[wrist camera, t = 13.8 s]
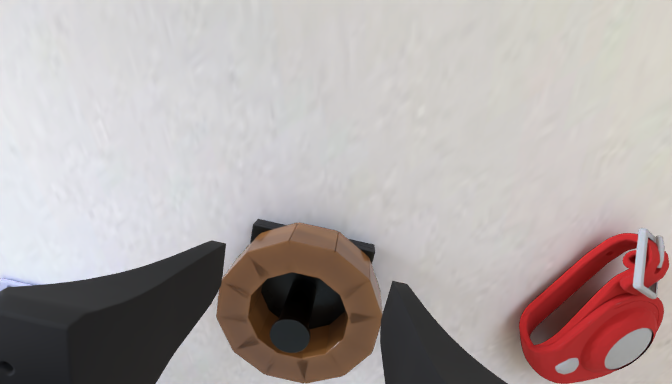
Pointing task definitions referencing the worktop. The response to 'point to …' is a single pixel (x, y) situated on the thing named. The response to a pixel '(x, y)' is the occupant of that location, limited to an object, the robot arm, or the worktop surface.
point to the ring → (325, 342)
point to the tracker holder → (600, 312)
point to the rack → (300, 300)
